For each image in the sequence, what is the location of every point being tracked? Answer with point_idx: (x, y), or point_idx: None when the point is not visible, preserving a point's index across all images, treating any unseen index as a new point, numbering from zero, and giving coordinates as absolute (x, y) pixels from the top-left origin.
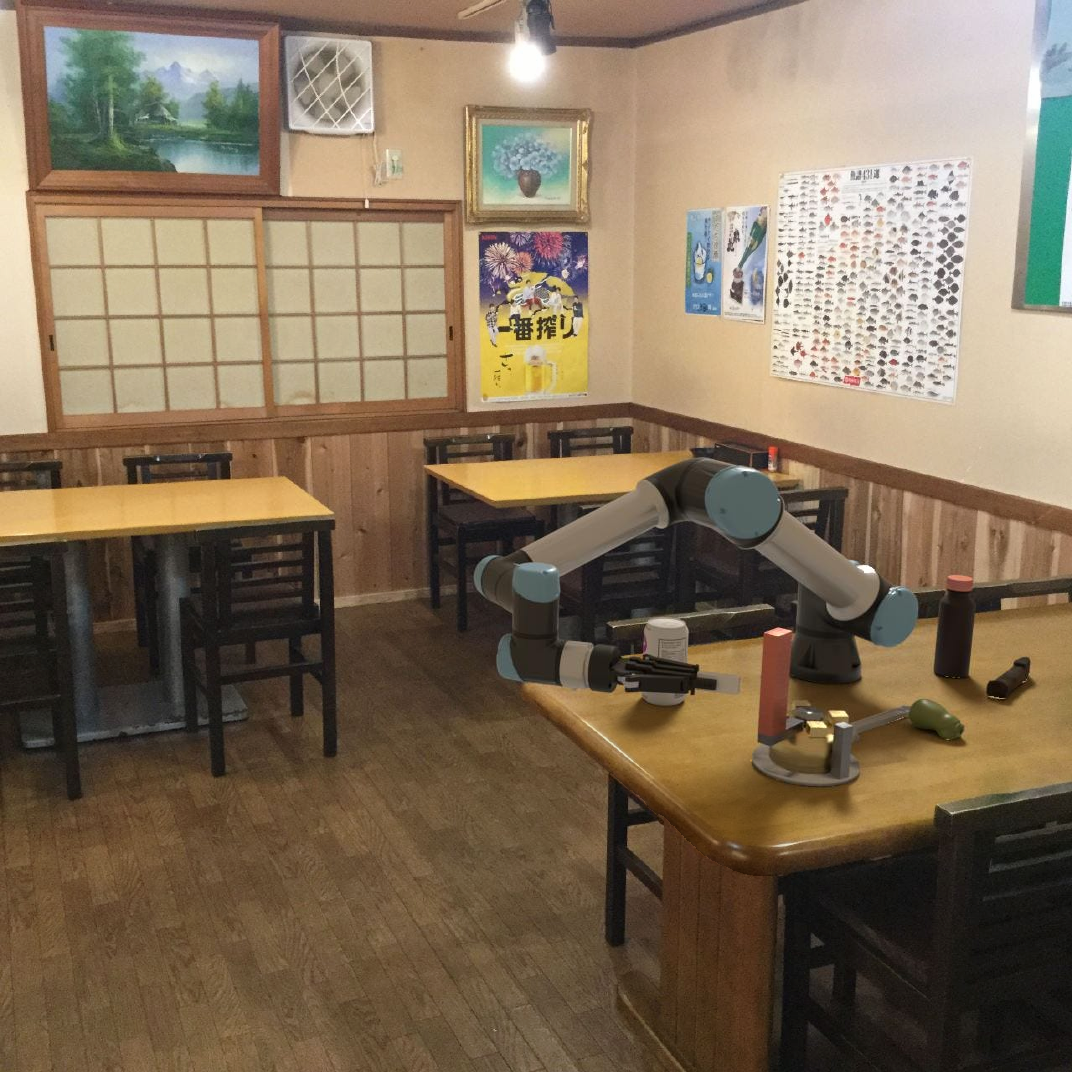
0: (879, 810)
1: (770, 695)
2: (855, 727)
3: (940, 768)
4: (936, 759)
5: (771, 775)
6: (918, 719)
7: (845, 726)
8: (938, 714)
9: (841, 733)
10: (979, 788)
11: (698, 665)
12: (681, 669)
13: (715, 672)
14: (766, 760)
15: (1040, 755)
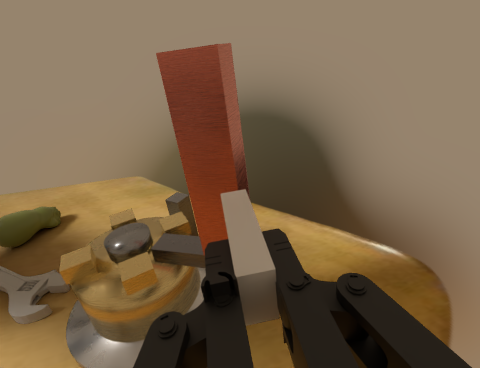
0: None
1: (244, 180)
2: (24, 279)
3: None
4: None
5: None
6: (26, 232)
7: (181, 195)
8: (35, 213)
9: (188, 203)
10: (167, 194)
11: (217, 272)
12: (250, 357)
13: (228, 233)
14: None
15: (94, 187)
